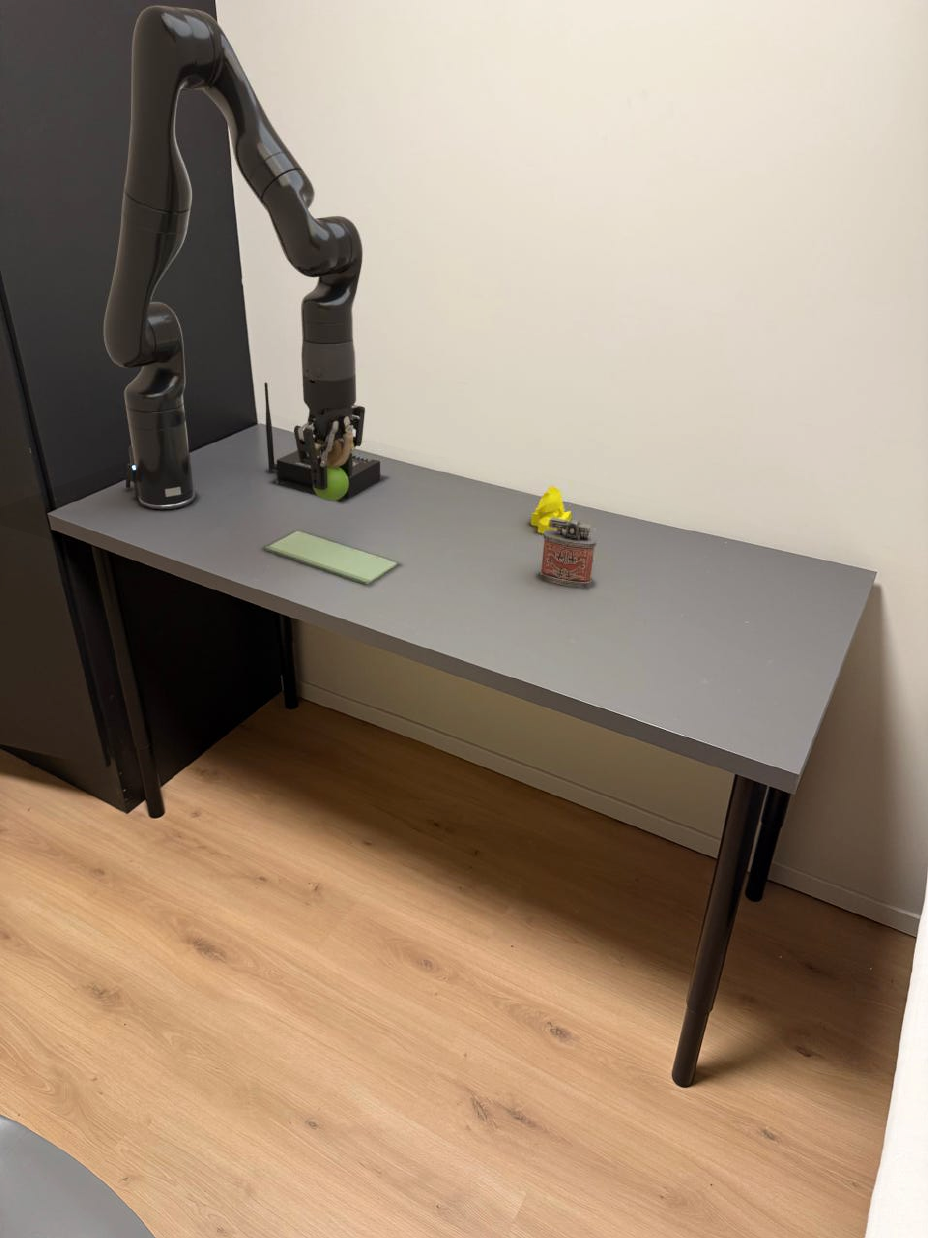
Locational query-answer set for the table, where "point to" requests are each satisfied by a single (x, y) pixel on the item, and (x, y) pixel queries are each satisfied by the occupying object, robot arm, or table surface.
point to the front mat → (331, 557)
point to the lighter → (568, 553)
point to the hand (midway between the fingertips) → (332, 481)
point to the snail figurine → (336, 469)
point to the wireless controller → (300, 473)
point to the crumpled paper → (549, 510)
